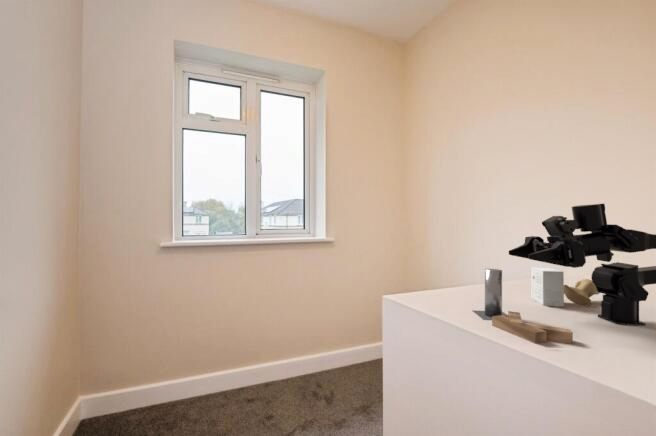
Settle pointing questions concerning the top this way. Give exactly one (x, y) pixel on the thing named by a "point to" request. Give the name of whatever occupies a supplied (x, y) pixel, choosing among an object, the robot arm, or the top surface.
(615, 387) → the top surface
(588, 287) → the tan curved shape
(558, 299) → the small box
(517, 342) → the top surface
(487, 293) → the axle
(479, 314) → the mat
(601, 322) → the top surface
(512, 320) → the v block
